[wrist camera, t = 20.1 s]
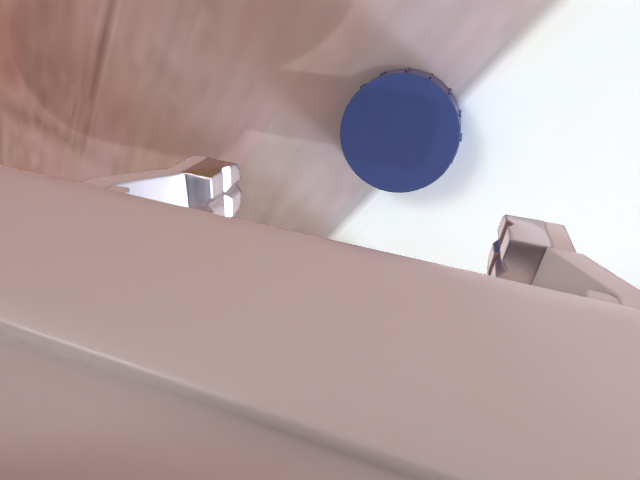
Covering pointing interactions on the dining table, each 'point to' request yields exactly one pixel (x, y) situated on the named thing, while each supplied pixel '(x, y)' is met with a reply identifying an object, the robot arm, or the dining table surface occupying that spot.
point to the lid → (401, 130)
